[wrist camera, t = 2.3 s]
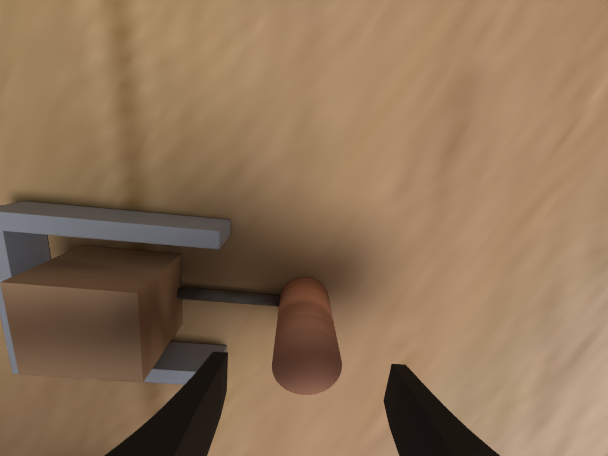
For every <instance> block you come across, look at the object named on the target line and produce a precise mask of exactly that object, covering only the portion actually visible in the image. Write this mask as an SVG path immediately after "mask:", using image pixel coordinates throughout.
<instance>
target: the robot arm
mask: <svg viewBox="0 0 608 456" xmlns="http://www.w3.org/2000/svg"><path fill="white" fill-rule="evenodd" d="M227 364H228V352H212V353H211V354H210V355H209V357H208V358H207V359H206V361H205V362H204V363H203V364H202V365H201V367H200V368H199V369H198V370H197V371H196V373H195V374H194V375H193V376H192V377H191V378H190V379H189V380H188V382H187V383H186V384H185V385H184V386H183V387H182V388H181V389H180V390H179V391H178V392H177V393H176V394H175V395H174V396H173V397H172V398H171V399H170V400H169V401H168V402H167V403H166V404H165V405H164V406H163V407H162V408H161V409H160V410H159V411H158V412H157V413H156V414H155V415H154V416H153V417H152V418H151V419H149V420H148V421H147V422H146V423H145V424H144V425H143V426H141V427H140V428H139V429H138V430H137V431H135V432H134V433H133V434H132V435H130V436H129V437H128V438H127V439H126V440H124V441H123V442H122V443H121V444H119V445H118V446H117V447H115V448H114V449H113V450H111V451H110V452H109V453H107V454H106V455H105V456H207V454H208V451H209V448H210V446H211V443H212V440H213V437H214V434H215V431H216V428H217V425H218V422H219V419H220V417H221V412H222V408H223V404H224V400H225V396H226V391H227ZM384 405H385V409H386V414H387V418H388V422H389V426H390V430H391V433H392V435H393V438H394V441H395V444H396V447H397V450H398V453H399V456H500V455H499V454H497V453H496V452H495V451H494V450H492V449H491V448H490V447H489V446H488V445H486V444H485V443H484V442H483V441H482V440H481V439H479V438H478V437H477V436H476V435H475V434H474V433H472V432H471V431H470V430H469V429H468V428H467V427H466V426H465V425H464V424H463V423H462V422H461V421H459V420H458V419H457V418H456V417H455V416H454V415H453V414H452V413H451V412H450V411H449V410H448V409H447V408H446V407H445V406H444V405H443V404H442V403H441V402H440V401H439V400H438V399H437V398H436V397H435V396H434V395H433V394H432V393H431V392H430V390H429V389H428V388H427V387H426V386H425V385H424V384H423V383H422V382H421V381H420V380H419V379H418V378H417V377H416V375H415V374H414V373H413V372H412V371H411V370H410V369H409V368H408V367H407V366H406V365H401V364H392V365H391V370H390V374H389V379H388V383H387V388H386V392H385V397H384Z"/></svg>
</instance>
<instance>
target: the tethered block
mask: <svg viewBox="0 0 608 456" xmlns="http://www.w3.org/2000/svg"><path fill="white" fill-rule="evenodd" d="M0 285H1V290H2V295H3V300H4V304H5V309H6V314H7V319H8V324H9V329H10V334H11V339H12V344H13V348H14V353H15V358H16V363H17V368H18V373H19V374H21V375H36V376H52V377H67V378H83V379H98V380H114V381H129V382H144V380H145V379H146V377H147V376H148V374H149V373H150V371H151V370H152V368H153V367H154V365H155V364H156V362H157V361H158V359H159V358H160V356H161V355H162V353H163V352H164V350H165V349H166V347H167V346H168V344H169V343H170V341H171V340H172V338H173V337H174V335H175V334H176V332H177V331H178V329H179V328H180V326H181V325H182V299H190V300H203V301H216V302H229V303H241V304H254V305H267V306H279V311H278V320H277V328H276V336H275V344H274V353H273V361H272V371H273V375H274V377H275V379H276V381H277V382H278V383H279V384H280V385H281V386H282V387H283V388H285V389H286V390H288V391H290V392H293V393H296V394H301V395H312V394H317V393H320V392H322V391H325V390H326V389H328V388H330V387H331V386H332V385H333V384H334V383H335V382H336V381H337V379H338V378H339V376H340V373H341V369H342V361H341V356H340V352H339V347H338V342H337V337H336V332H335V327H334V322H333V317H332V312H331V308H330V303H329V298H328V293H327V291H326V289H325V287H324V286H323V285H322V284H321V283H320V282H318V281H317V280H314V279H311V278H297V279H294V280H292V281H291V282H289V283H288V284H287V285H286V286H285V287H284V288H283V290H282V292H281V295H270V294H258V293H245V292H233V291H220V290H208V289H195V288H183V287H182V272H181V254H176V253H164V252H153V251H141V250H129V249H117V248H106V247H94V246H80V247H78V248H76V249H74V250H71V251H69V252H67V253H65V254H62V255H60V256H58V257H56V258H53V259H51V260H49V261H47V262H44V263H42V264H40V265H38V266H35V267H33V268H31V269H29V270H26V271H24V272H22V273H20V274H17V275H15V276H13V277H11V278H8V279H6V280H4V281H2V282H0Z"/></svg>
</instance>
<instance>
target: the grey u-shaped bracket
mask: <svg viewBox="0 0 608 456" xmlns="http://www.w3.org/2000/svg"><path fill="white" fill-rule="evenodd" d="M230 223H231V220H227V219H216V218H205V217H194V216H183V215H172V214H161V213H150V212H139V211H128V210H117V209H106V208H95V207H84V206H73V205H62V204H51V203H40V202H29V201H22V202H17V203H12V204H7V205H1V206H0V282H2V281H4V280H6V279H8V278H11V277H13V276H15V275H17V274H20V273H22V272H24V271H26V270H29V269H31V268H33V267H35V266H38V265H40V264H42V263H44V262H47V261H49V260H51V258H50V252H49V245H48V238H47V235H58V236H69V237H81V238H93V239H104V240H116V241H128V242H139V243H151V244H163V245H174V246H186V247H198V248H209V249H220V248H221V247H222V245H223V244H224V243H225V241H226V240H227V239H228V238H229V236H230ZM0 316H1V321H2V326H3V330H4V335H5V340H6V344H7V349H8V354H9V359H10V363H11V368H12V373H13V374H19V373H18V368H17V363H16V358H15V353H14V348H13V344H12V339H11V334H10V329H9V324H8V319H7V314H6V309H5V304H4V300H3V295H2V290H1V285H0ZM226 347H227V346H225V345H210V344H196V343H181V342H170V343H169V344H168V346H167V347H166V349H165V350H164V352H163V353H162V355H161V356H160V358H159V359H158V361H157V362H156V364H155V365H154V367H153V368H152V370H151V371H150V373H149V374H148V376H147V377H146V379H145V380H144V382H151V383H167V384H183V385H185V384H186V383H187V382H188V380H189V379H190V378H191V377H192V376H193V375H194V374H195V373H196V371H197V370H198V369H199V368H200V367H201V365H202V364H203V363H204V362H205V361H206V359H207V358H208V357H209V355H210V354H211V353H212V352H226Z"/></svg>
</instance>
